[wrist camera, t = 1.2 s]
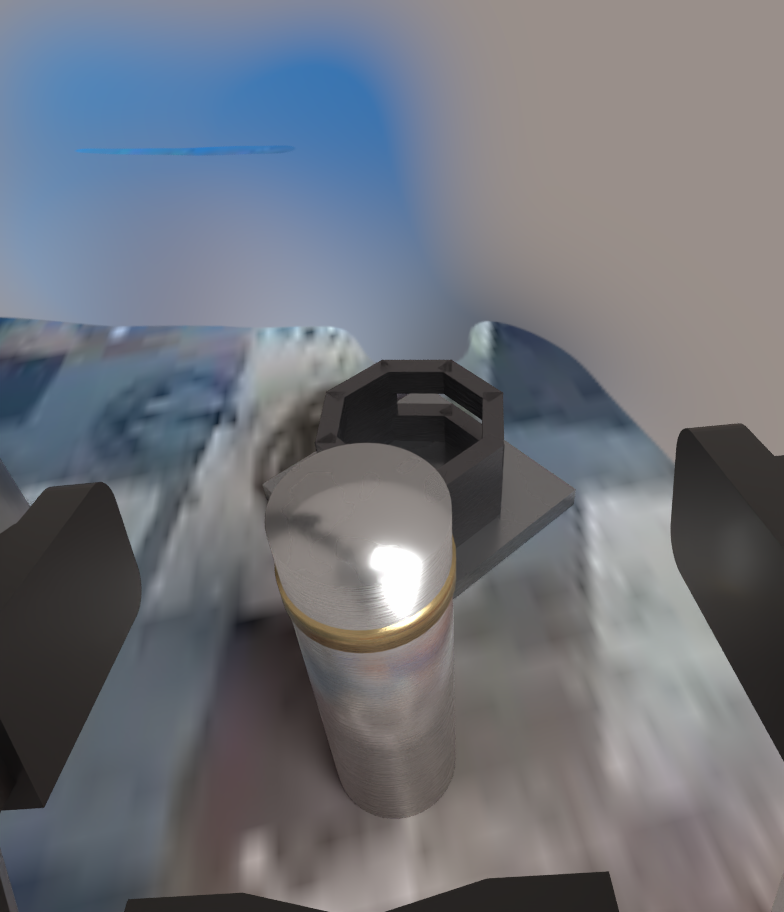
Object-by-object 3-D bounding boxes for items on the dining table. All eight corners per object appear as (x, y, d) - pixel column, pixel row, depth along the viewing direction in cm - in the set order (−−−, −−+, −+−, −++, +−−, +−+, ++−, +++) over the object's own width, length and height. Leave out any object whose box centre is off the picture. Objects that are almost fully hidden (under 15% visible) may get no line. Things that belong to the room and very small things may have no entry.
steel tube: (309, 751, 32) (224, 505, 20) (402, 675, 34) (372, 415, 22) (388, 851, 29) (339, 629, 17) (483, 760, 31) (496, 511, 19)
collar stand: (266, 498, 42) (243, 415, 38) (424, 399, 47) (420, 316, 42) (405, 636, 35) (397, 556, 31) (573, 504, 40) (587, 418, 36)
